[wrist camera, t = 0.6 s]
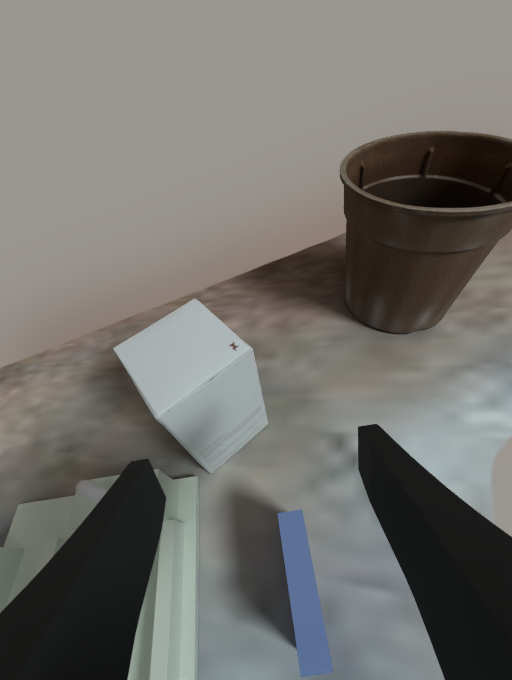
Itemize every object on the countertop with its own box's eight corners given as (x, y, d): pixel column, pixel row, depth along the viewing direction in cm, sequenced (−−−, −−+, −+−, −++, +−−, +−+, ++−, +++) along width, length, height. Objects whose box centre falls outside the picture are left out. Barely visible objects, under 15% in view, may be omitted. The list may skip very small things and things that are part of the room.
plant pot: (310, 328, 36) (318, 197, 23) (342, 253, 44) (360, 128, 32) (461, 366, 30) (576, 221, 18) (463, 272, 39) (542, 130, 26)
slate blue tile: (324, 647, 19) (333, 672, 14) (299, 651, 19) (300, 677, 14) (300, 522, 23) (301, 509, 19) (281, 525, 23) (277, 513, 19)
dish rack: (196, 857, 15) (116, 1085, 8) (-112, 903, 15) (-433, 1162, 8) (199, 478, 26) (166, 446, 20) (25, 505, 26) (-65, 483, 20)
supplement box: (227, 378, 32) (197, 294, 23) (270, 425, 28) (256, 348, 19) (170, 419, 30) (109, 345, 20) (208, 478, 26) (155, 421, 16)
